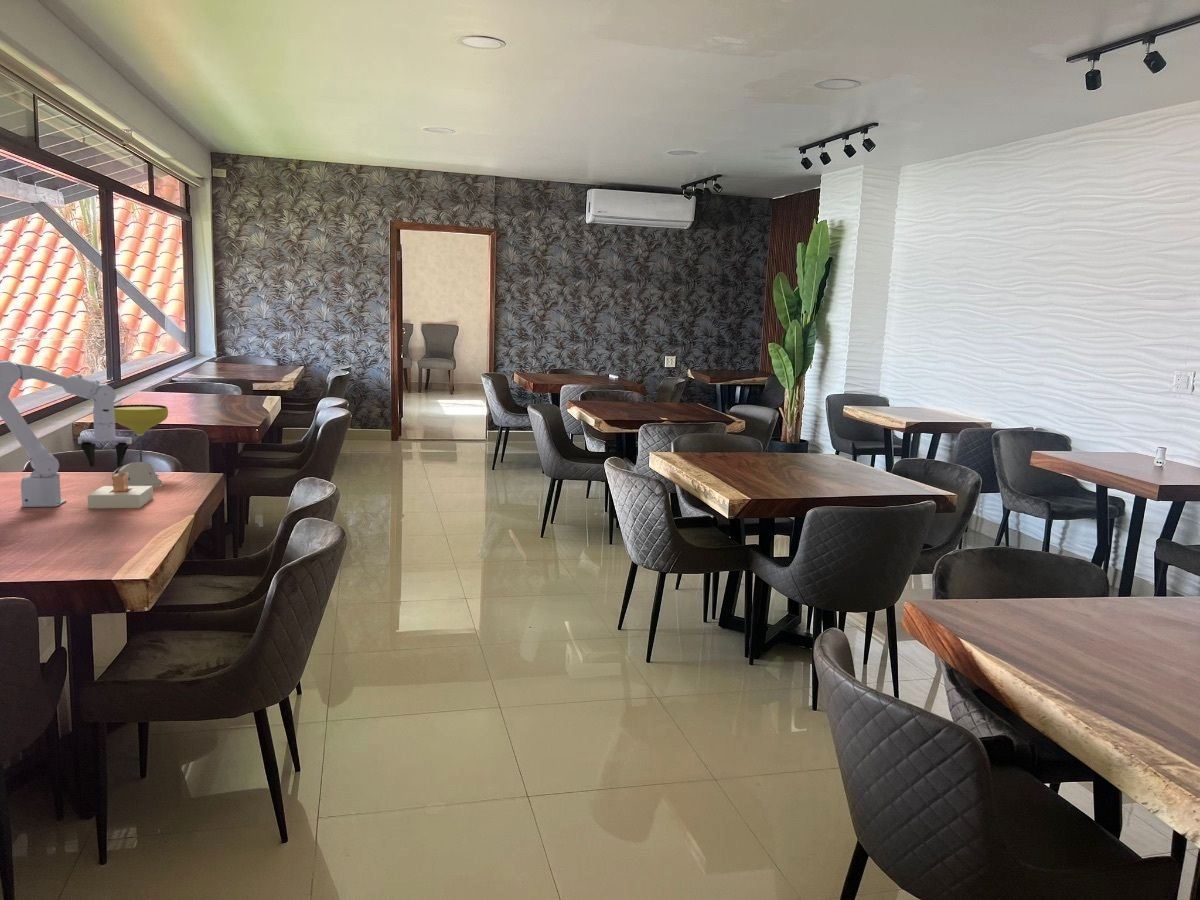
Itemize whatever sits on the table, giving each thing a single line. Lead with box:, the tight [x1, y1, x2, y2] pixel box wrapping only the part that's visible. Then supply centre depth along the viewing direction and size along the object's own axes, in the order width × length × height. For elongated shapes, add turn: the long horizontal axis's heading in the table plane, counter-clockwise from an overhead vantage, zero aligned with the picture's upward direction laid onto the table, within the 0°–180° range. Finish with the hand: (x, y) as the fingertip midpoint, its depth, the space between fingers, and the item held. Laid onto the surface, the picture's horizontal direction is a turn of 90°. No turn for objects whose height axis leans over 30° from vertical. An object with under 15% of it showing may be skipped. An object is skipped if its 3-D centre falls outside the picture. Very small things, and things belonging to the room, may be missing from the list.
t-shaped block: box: [111, 473, 129, 492], centre depth 256 cm, size 3×6×9 cm, turn 14°
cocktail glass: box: [114, 404, 169, 476], centre depth 296 cm, size 18×18×25 cm
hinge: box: [111, 461, 164, 488], centre depth 278 cm, size 17×5×10 cm, turn 173°
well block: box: [87, 485, 154, 509], centre depth 257 cm, size 14×14×4 cm
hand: (106, 466), depth 260 cm, fingers open, 7 cm apart
